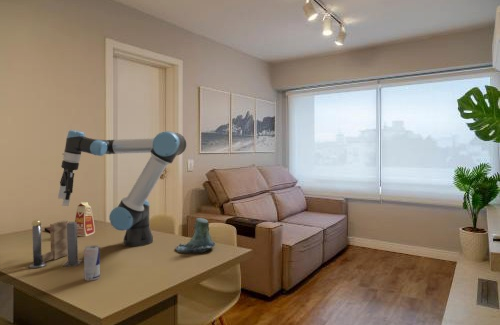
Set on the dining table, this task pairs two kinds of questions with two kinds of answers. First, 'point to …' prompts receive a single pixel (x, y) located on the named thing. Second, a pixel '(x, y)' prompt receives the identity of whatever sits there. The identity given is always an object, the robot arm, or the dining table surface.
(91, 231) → the milk carton
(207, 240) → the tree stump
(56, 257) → the gate
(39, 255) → the hinge post
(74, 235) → the dark grey bar
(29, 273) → the dining table surface
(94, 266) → the energy drink
